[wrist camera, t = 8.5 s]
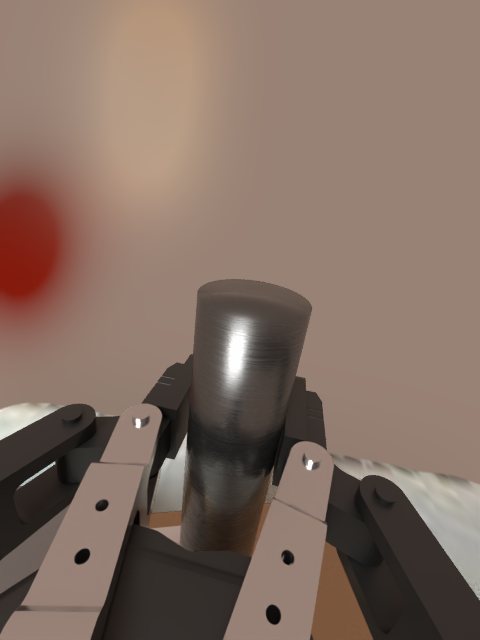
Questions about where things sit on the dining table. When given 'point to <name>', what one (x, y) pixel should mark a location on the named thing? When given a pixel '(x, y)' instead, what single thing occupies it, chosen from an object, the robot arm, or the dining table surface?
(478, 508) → the dining table surface
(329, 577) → the shaft bracket
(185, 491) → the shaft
